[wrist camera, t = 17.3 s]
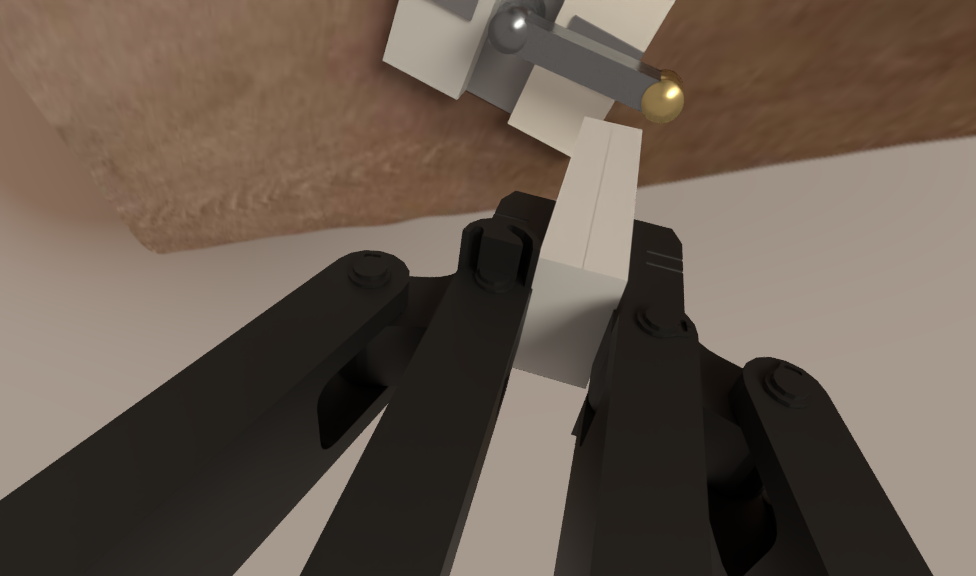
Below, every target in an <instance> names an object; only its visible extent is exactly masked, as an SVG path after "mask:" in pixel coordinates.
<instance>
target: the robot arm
mask: <svg viewBox="0 0 976 576" xmlns="http://www.w3.org/2000/svg"><path fill="white" fill-rule="evenodd" d="M641 139H642V130H640V129H636V128H632V127H627V126H623V125H619V124H615V123H610V122H606V121H602V120H598V119H594V118H589V117H584V120H583V123H582V126H581V129H580V132H579V135H578V138H577V141H576V144H575V147H574V150H573V154H572V157H571V160H570V163H569V166H568V169H567V172H566V175H565V178H564V181H563V184H562V187H561V190H560V193H559V196H558V199H557V201H554V200H550V199H546V198H542V197H538V196H534V195H530V194H526V193H522V192H519V191H515V192H513V193H511V194H510V195H508V196H506V197H505V198H503V199H501V201H500V203H499V205H498V207H497V209H496V211H495V214H494V215H493V217H492V218H487V219H480V220H477V221H474V222H472V223H470V224H469V225H467V226H466V228H464V230H463V232H462V239H461V248H460V255H459V262H458V270H457V272H456V273H454V274H452V275H448V276H443V277H413V276H409V270H408V268H407V266H406V265H405V263H404V262H403V261H401V260H400V259H398V258H397V257H396V256H394V255H391V254H388V253H385V252H381V251H369V250H364V251H359V252H353V253H350V254H348V255H346V256H344V257H341V258H339V259H338V260H336V261H335V262H334V263H332V264H331V265H329V266H328V267H326V268H325V269H324V270H322V271H321V272H320V273H318V274H317V275H315V276H314V277H312V278H311V279H310V280H309V281H307V282H306V283H304V284H303V285H301V286H300V287H299V288H297V289H296V290H294V291H293V292H291V293H290V294H289V295H287V296H286V297H285V298H283V299H282V300H281V301H279V302H277V303H276V304H275V305H273V306H272V307H270V308H269V309H268V310H266V311H265V312H264V313H262V314H261V315H259V316H258V317H256V318H255V319H254V320H252V321H251V322H249V323H248V324H247V325H245V326H244V327H242V328H241V329H240V330H239V331H237V332H235V333H234V334H233V335H231V336H230V337H229V338H227V339H226V340H224V341H223V342H222V343H220V344H219V345H217V346H216V347H214V348H213V349H212V350H210V351H209V352H207V353H206V354H205V355H203V356H202V357H200V358H199V359H198V360H196V361H195V362H194V363H192V364H191V365H189V366H188V367H186V368H185V369H184V370H182V371H181V372H179V373H178V374H177V375H175V376H174V377H172V378H171V379H170V380H168V381H167V382H165V383H164V384H163V385H161V386H160V387H158V388H157V389H156V390H154V391H153V392H151V393H150V394H149V395H147V396H146V397H144V398H143V399H142V400H140V401H139V402H137V403H136V404H135V405H133V406H132V407H130V408H129V409H128V410H126V411H125V412H123V413H122V414H121V415H119V416H118V417H116V418H115V419H114V420H112V421H111V422H109V423H108V424H107V425H105V426H104V427H102V428H101V429H100V430H98V431H97V432H95V433H94V434H93V435H91V436H90V437H88V438H87V439H86V440H84V441H83V442H81V443H80V444H79V445H77V446H76V447H74V448H73V449H72V450H70V451H69V452H67V453H66V454H65V455H63V456H62V457H60V458H59V459H58V460H56V461H55V462H53V463H52V464H51V465H49V466H48V467H47V468H45V469H44V470H42V471H41V472H40V473H38V474H37V475H35V476H34V477H33V478H31V479H30V480H28V481H27V482H25V483H24V484H23V485H21V486H20V487H18V488H17V489H16V490H14V491H13V492H11V493H10V494H9V495H7V496H6V497H4V498H3V499H2V500H0V576H233V574H234V573H235V572H236V571H237V570H238V569H239V568H240V567H241V566H242V565H243V563H244V562H245V561H246V560H247V559H248V558H249V557H250V556H251V554H252V553H253V552H254V551H255V550H256V549H257V548H258V547H259V546H260V545H261V543H262V542H263V541H264V540H265V539H266V538H267V537H268V536H269V535H270V534H271V532H272V531H273V530H274V529H275V528H276V527H277V526H278V524H280V522H281V521H282V520H283V519H284V518H285V517H286V516H287V515H288V514H289V512H290V511H291V510H292V509H293V508H294V507H295V506H296V505H297V504H298V502H299V501H300V500H301V499H302V498H303V497H304V496H305V495H306V494H307V493H308V491H309V490H310V489H311V488H312V487H313V486H314V485H315V484H316V483H317V481H318V480H319V479H320V478H321V477H322V476H323V475H324V473H326V471H327V470H328V469H329V468H330V467H331V466H332V465H333V464H334V463H335V461H336V460H337V459H338V458H339V457H340V456H341V455H342V454H343V453H344V451H345V450H346V449H347V448H348V447H349V446H350V445H351V444H352V443H353V442H354V440H355V439H356V438H357V437H358V436H359V435H360V434H361V433H362V432H363V430H364V429H365V428H366V427H367V426H368V425H369V424H370V423H371V421H372V420H373V419H374V418H375V417H376V416H377V415H378V414H379V413H380V412H381V411H382V409H383V408H384V407H385V406H386V405H387V404H388V405H387V407H386V409H385V411H384V413H383V415H382V417H381V419H380V421H379V423H378V425H377V427H376V429H375V431H374V433H373V434H372V436H371V438H370V440H369V442H368V444H367V446H366V448H365V450H364V452H363V454H362V456H361V458H360V460H359V462H358V464H357V466H356V467H355V469H354V471H353V473H352V475H351V477H350V479H349V481H348V483H347V485H346V487H345V489H344V491H343V493H342V495H341V497H340V499H339V500H338V502H337V505H336V506H335V508H334V510H333V512H332V514H331V516H330V518H329V520H328V522H327V524H326V526H325V528H324V530H323V531H322V533H321V535H320V538H319V539H318V542H317V543H316V545H315V547H314V549H313V551H312V553H311V555H310V557H309V559H308V561H307V563H306V565H305V567H304V568H303V570H302V572H301V574H300V576H449V575H450V572H451V569H452V565H453V562H454V559H455V555H456V552H457V549H458V546H459V543H460V539H461V536H462V532H463V529H464V526H465V523H466V520H467V516H468V513H469V510H470V506H471V503H472V500H473V496H474V493H475V490H476V487H477V483H478V480H479V477H480V474H481V470H482V467H483V464H484V460H485V457H486V454H487V451H488V447H489V444H490V441H491V438H492V434H493V431H494V428H495V424H496V421H497V418H498V415H499V411H500V408H501V405H502V401H503V398H504V395H505V391H506V388H507V384H508V380H509V376H510V372H511V369H512V367H513V368H516V369H519V370H523V371H527V372H530V373H533V374H537V375H540V376H543V377H547V378H550V379H554V380H557V381H560V382H564V383H567V384H571V385H574V386H577V387H581V388H586V386H587V383H588V381H589V378H590V383H589V389H588V393H587V396H586V398H585V401H584V403H583V406H582V408H581V411H580V413H579V416H578V418H577V421H576V423H575V426H574V428H573V431H572V433H571V434H572V435H575V436H576V443H575V449H574V455H573V461H572V467H571V473H570V480H569V486H568V491H567V498H566V504H565V510H564V516H563V522H562V528H561V535H560V540H559V546H558V552H557V558H556V565H555V571H554V576H933V574H932V573H931V571H930V569H929V567H928V566H927V564H926V562H925V561H924V559H923V557H922V555H921V554H920V552H919V550H918V548H917V547H916V545H915V543H914V542H913V540H912V538H911V537H910V535H909V533H908V531H907V530H906V528H905V526H904V525H903V523H902V521H901V519H900V518H899V516H898V514H897V512H896V511H895V509H894V507H893V505H892V504H891V502H890V500H889V499H888V497H887V495H886V493H885V492H884V490H883V488H882V487H881V485H880V483H879V481H878V480H877V478H876V476H875V474H874V473H873V471H872V469H871V468H870V466H869V464H868V462H867V461H866V459H865V457H864V456H863V454H862V452H861V450H860V449H859V447H858V445H857V443H856V442H855V440H854V438H853V437H852V435H851V433H850V432H849V430H848V428H847V426H846V425H845V423H844V421H843V420H842V418H841V416H840V414H839V413H838V411H837V409H836V407H835V406H834V404H833V402H832V401H831V399H830V397H829V395H828V394H827V392H826V391H825V390H824V389H823V387H822V386H821V385H820V384H819V382H818V381H817V380H816V379H814V378H813V377H812V376H811V375H809V374H808V373H807V372H806V371H804V370H803V369H801V368H799V367H797V366H795V365H793V364H791V363H789V362H787V361H784V360H780V359H776V358H772V357H759V358H755V359H753V360H751V361H749V362H747V363H746V365H745V366H744V368H741V367H739V366H737V365H735V364H733V363H731V362H729V361H727V360H725V359H723V358H722V357H720V356H718V355H716V354H715V353H713V352H711V351H709V350H708V349H707V348H706V347H704V346H703V345H702V344H700V343H699V341H698V333H697V330H696V327H695V324H694V323H693V322H692V321H691V320H690V318H689V317H688V316H687V315H686V314H685V311H684V285H683V273H682V272H683V262H682V259H683V258H682V257H683V256H682V243H681V242H680V240H679V239H678V237H677V236H676V234H675V233H674V231H673V230H672V229H670V228H666V227H662V226H658V225H654V224H650V223H647V222H643V221H639V220H635V219H634V211H635V200H636V190H637V180H638V169H639V159H640V149H641Z"/></svg>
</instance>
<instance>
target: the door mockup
mask: <svg viewBox="0 0 976 576" xmlns="http://www.w3.org/2000/svg"><path fill="white" fill-rule="evenodd" d="M506 1H507V2H509V3H510V2H511V1H512V0H399V2H398V6H397V10H396V13H395V17H394V20H393V24H392V28H391V31H390V35H389V39H388V42H387V46H386V50H385V53H384V57H383V61H384V62H386V63H388V64H390V65H392V66H394V67H396V68H398V69H400V70H401V71H403V72H405V73H407V74H409V75H411V76H413V77H415V78H417V79H418V80H420V81H422V82H424V83H426V84H428V85H430V86H432V87H433V88H435V89H437V90H439V91H441V92H443V93H445V94H447V95H449V96H450V97H452V98H454V99H456V100H457V99H458V98H459V97H460V96H461V95H462V94H463V93H464V91H465V90H467V91H469V92H471V93H473V94H475V95H476V96H478V97H480V98H482V99H484V100H486V101H488V102H490V103H491V104H493V105H495V106H497V107H499V108H501V109H503V110H505V111H506V112H508V113H510V114H511V117H510V119H509V121H508V124H510V125H511V126H513V127H515V128H517V129H519V130H521V131H523V132H525V133H526V134H528V135H530V136H532V137H534V138H536V139H538V140H540V141H542V142H543V143H545V144H547V145H549V146H551V147H553V148H555V149H557V150H559V151H560V152H562V153H564V154H566V155H568V156H570V157H572V154H573V150H574V147H575V144H576V141H577V138H578V135H579V132H580V129H581V126H582V123H583V120H584V117H589V118H594V119H598V120H602V121H603V120H604V118H605V117H606V115H607V113H608V112H609V110H610V108H611V107H612V105H613V103H614V102H615V100H614V99H612V98H609V97H607V96H605V95H603V94H600V93H598V92H596V91H594V90H591V89H589V88H587V87H585V86H582V85H580V84H578V83H576V82H573V81H571V80H569V79H567V78H565V77H562V76H560V75H558V74H556V73H553V72H551V71H549V70H547V69H544V68H542V67H540V66H538V65H535V64H533V63H531V62H529V61H526V60H524V59H522V58H520V57H518V56H515V55H513V54H509V55H508V54H503V53H500V52H499V51H497V50H496V49H495V48H494V47H493V46H492V45H491V44H488V43H487V41H488V38H489V36H488V28H489V24H490V22H491V20H492V18H493V17H494V16H495V15H496V13H497V10H498V8H499V7H500V6H502V5H503V4H504V3H505V2H506ZM543 1H544V3H545V6H546V16H545V19H547V20H549V21H551V22H554V23H556V24H558V25H560V26H563V27H565V28H567V29H569V30H572V31H574V32H576V33H578V34H580V35H583V36H585V37H587V38H589V39H592V40H594V41H596V42H598V43H601V44H603V45H605V46H607V47H609V48H612V49H614V50H616V51H618V52H621V53H623V54H625V55H627V56H630V57H632V58H634V59H636V60H639V61H640V59H641V58H642V56H643V54H644V52H645V50H646V48H647V47H648V45H649V43H650V42H651V40H652V38H653V37H654V35H655V33H656V32H657V30H658V28H659V27H660V25H661V23H662V22H663V20H664V18H665V17H666V15H667V13H668V12H669V10H670V8H671V7H672V5H673V3H674V2H675V0H543Z"/></svg>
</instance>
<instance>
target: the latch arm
mask: <svg viewBox="0 0 976 576" xmlns="http://www.w3.org/2000/svg"><path fill="white" fill-rule="evenodd" d="M545 16H546V6H545V3H544V1H543V0H512V1H511V2H510V3H509V2H507V1H506V2H505V3H504V4H503V5H502V6H500V7H499V8H498V10H497V13H496V15H495V16H494V17H493V18H492V20H491V22H490V24H489V28H488V36H489V38H488V41H487V43H488V44H491V45H492V46H493V47H494V48H495V49H496V50H497V51H499V52H500V53H503V54H508V55H509V54H513V55H515V56H518V57H520V58H522V59H524V60H526V61H529V62H531V63H533V64H535V65H538V66H540V67H542V68H544V69H547V70H549V71H551V72H553V73H556V74H558V75H560V76H562V77H565V78H567V79H569V80H571V81H573V82H576V83H578V84H580V85H582V86H585V87H587V88H589V89H591V90H594V91H596V92H598V93H600V94H603V95H605V96H607V97H609V98H612V99H614V100H616V101H618V102H621V103H623V104H625V105H627V106H629V107H632V108H634V109H636V110H638V111H641V112H643V114H644V115H645V117H646V118H647V119H649V120H650V121H652V122H655V123H666V122H669V121H671V120H673V119H674V118H676V117H677V116H678V115H679V114H680V112H681V110H682V108H683V105H684V93H683V82H682V80H681V78H680V76H679V75H678V74H677V73H675V72H674V71H671V70H666V69H664V70H659V69H656V68H654V67H652V66H650V65H647V64H645V63H643V62H641V61H639V60H636V59H634V58H632V57H630V56H627V55H625V54H623V53H621V52H618V51H616V50H614V49H612V48H609V47H607V46H605V45H603V44H601V43H598V42H596V41H594V40H592V39H589V38H587V37H585V36H583V35H580V34H578V33H576V32H574V31H572V30H569V29H567V28H565V27H563V26H560V25H558V24H556V23H554V22H551V21H549V20H547V19H545Z"/></svg>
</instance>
